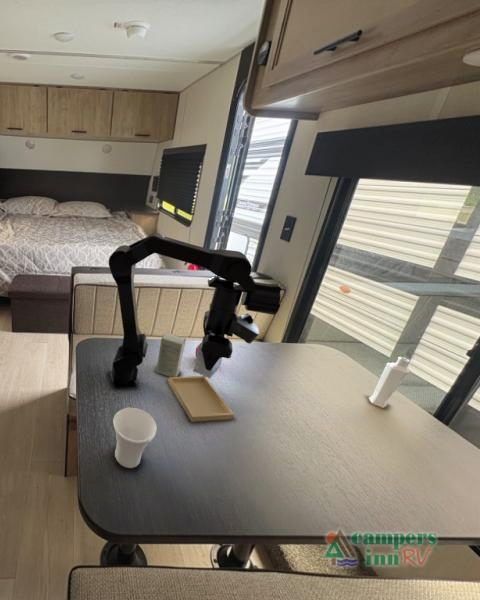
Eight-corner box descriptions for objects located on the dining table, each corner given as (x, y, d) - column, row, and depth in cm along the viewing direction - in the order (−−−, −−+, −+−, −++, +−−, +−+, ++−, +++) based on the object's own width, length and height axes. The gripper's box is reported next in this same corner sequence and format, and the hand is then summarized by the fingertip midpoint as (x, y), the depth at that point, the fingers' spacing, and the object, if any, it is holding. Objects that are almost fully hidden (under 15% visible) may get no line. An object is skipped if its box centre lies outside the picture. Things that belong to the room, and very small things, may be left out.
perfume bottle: (388, 402, 86) (415, 359, 79) (388, 410, 83) (417, 366, 76) (367, 394, 88) (392, 351, 82) (366, 402, 85) (392, 358, 79)
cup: (122, 483, 60) (128, 448, 55) (101, 446, 67) (105, 412, 63) (159, 468, 63) (167, 434, 59) (134, 434, 71) (140, 401, 67)
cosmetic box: (179, 372, 93) (187, 338, 88) (175, 379, 90) (183, 345, 85) (159, 364, 96) (166, 331, 91) (154, 371, 93) (161, 337, 88)
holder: (191, 421, 75) (192, 416, 75) (167, 381, 89) (168, 377, 88) (232, 419, 77) (234, 414, 76) (203, 379, 90) (204, 375, 90)
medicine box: (209, 379, 74) (218, 350, 71) (192, 371, 77) (199, 342, 74) (220, 365, 80) (228, 337, 76) (203, 358, 83) (211, 331, 79)
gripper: (268, 331, 60) (246, 392, 67) (257, 298, 76) (240, 350, 83) (209, 319, 64) (193, 377, 71) (210, 289, 80) (197, 340, 86)
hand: (208, 360), depth 77 cm, fingers closed on medicine box, 9 cm apart
